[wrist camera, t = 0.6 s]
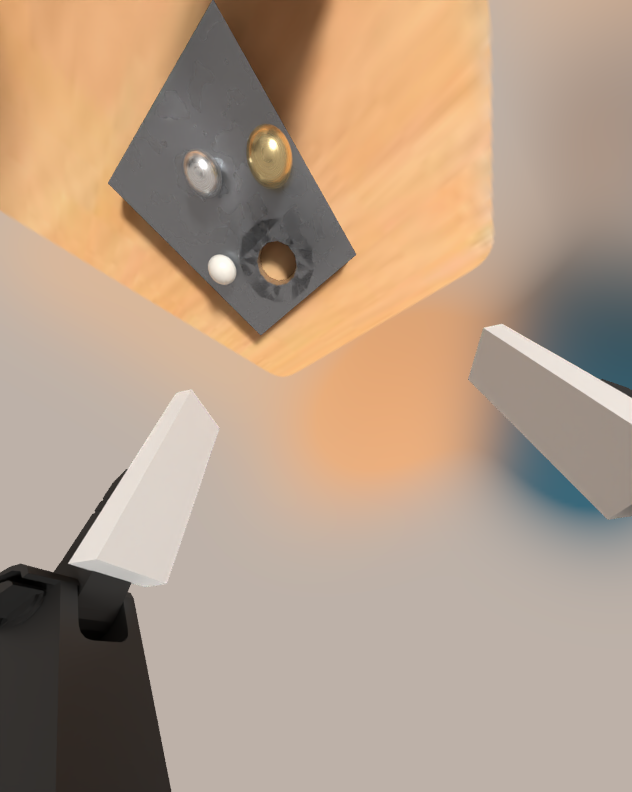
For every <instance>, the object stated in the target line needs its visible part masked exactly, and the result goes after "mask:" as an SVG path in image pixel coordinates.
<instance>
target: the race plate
mask: <svg viewBox="0 0 632 792" xmlns="http://www.w3.org/2000/svg"><path fill="white" fill-rule="evenodd" d="M261 124H271V125H274V126H276V127H277V128H279V129H280V130H281V131H282V132H283V134H284V135H285V137H286V138H287V140H288V142H289V145H290V148H291V152H292V170H291V174H290V176H289V178H288V180H287V182H286V183H285V184H284V185H283V186H281V187H280V188H277V189H268V188H265V187H263V186H262V185H260V184H259V183H258V182H257V181H256V180H255V178H254V177H253V175H252V173H251V171H250V169H249V166H248V163H247V157H246V147H247V141H248V138H249V136H250V134H251V132H252V131H253V130H254V128H256V127H257V126H259V125H261ZM195 148H198V149H202V150H205V151H206V152H208V153H209V154H210V155H211V156H212V157H213V158H214V159H215V160H216V162H217V163H218V165H219V167H220V170H221V174H222V187H221V189H220V191H219V193H218V194H217V195H216V196H214V197H204V196H201V195H199V194H198V193H196V192H195V191H194V190H193V189H192V188H191V186H190V185H189V183H188V182H187V180H186V177H185V174H184V169H183V161H184V158H185V155H186V154H187V152H188V151H190V150H191V149H195ZM108 184H109V185H110V186H111V187H112V188H113V189H114V190H115V191H116V192H117V193H118V194H119V195H120V196H121V197H122V198H123V199H124V200H125V201H126V202H127V203H128V204H129V205H130V206H131V207H132V208H133V209H134V210H135V211H136V212H137V213H138V214H139V215H140V216H141V217H142V218H143V219H144V220H145V221H146V222H147V223H148V224H149V225H150V226H151V227H152V228H153V229H154V230H155V231H156V232H157V233H158V234H159V235H160V236H161V237H162V238H163V239H164V240H165V241H166V242H167V243H168V244H169V245H170V246H171V247H172V248H174V249H175V250H176V251H177V252H178V253H179V254H180V255H181V256H182V257H183V258H184V259H185V260H186V261H187V262H188V263H189V264H190V265H191V266H192V267H193V268H194V269H195V270H196V271H197V272H198V273H199V274H200V275H201V276H202V277H203V278H204V279H205V280H206V281H207V282H208V283H209V284H210V285H211V286H212V287H213V288H214V289H215V290H216V291H217V292H218V293H219V294H220V295H221V296H222V297H223V298H224V299H225V300H226V301H227V302H228V303H229V304H230V305H231V306H232V307H233V308H234V309H235V310H236V311H237V312H238V313H239V314H240V315H241V316H242V317H243V318H244V319H245V320H246V321H247V322H248V323H249V324H250V325H251V326H252V327H253V328H254V329H255V330H256V331H257V332H258V333H259V334H260V335H262V334H263V333H264V332H265V331H267V330H268V329H269V328H270V327H271V326H272V325H274V324H275V323H276V322H277V321H278V320H280V319H281V318H282V317H283V316H284V315H285V314H287V313H288V312H289V311H290V310H291V309H293V308H294V307H295V306H296V305H297V304H298V303H300V302H301V301H302V300H303V299H304V298H306V297H307V296H308V295H309V294H310V293H312V292H313V291H314V290H315V289H316V288H317V287H319V286H320V285H321V284H322V283H323V282H325V281H326V280H327V279H328V278H329V277H330V276H332V275H333V274H334V273H335V272H336V271H338V270H339V269H340V268H341V267H342V266H343V265H345V264H346V263H347V262H348V261H349V260H351V259H352V258H353V257H354V256H355V255H356V253H355V251H354V249H353V248H352V246H351V244H350V242H349V241H348V239H347V237H346V235H345V233H344V232H343V230H342V228H341V226H340V225H339V223H338V221H337V219H336V217H335V216H334V214H333V212H332V210H331V208H330V207H329V205H328V203H327V201H326V200H325V198H324V196H323V194H322V192H321V191H320V189H319V187H318V185H317V184H316V182H315V180H314V178H313V176H312V175H311V173H310V171H309V169H308V167H307V166H306V164H305V162H304V160H303V159H302V157H301V155H300V153H299V151H298V150H297V148H296V146H295V144H294V143H293V141H292V139H291V137H290V135H289V134H288V132H287V130H286V128H285V126H284V125H283V123H282V121H281V119H280V118H279V116H278V114H277V112H276V110H275V109H274V107H273V105H272V103H271V101H270V100H269V98H268V96H267V94H266V93H265V91H264V89H263V87H262V85H261V84H260V82H259V80H258V78H257V77H256V75H255V73H254V71H253V69H252V68H251V66H250V64H249V62H248V60H247V59H246V57H245V55H244V53H243V52H242V50H241V48H240V46H239V44H238V43H237V41H236V39H235V37H234V36H233V34H232V32H231V30H230V28H229V27H228V25H227V23H226V21H225V19H224V18H223V16H222V14H221V12H220V11H219V9H218V7H217V5H216V3H215V2H214V0H212V2H211V3H210V5H209V7H208V9H207V10H206V12H205V14H204V16H203V17H202V19H201V21H200V23H199V24H198V26H197V28H196V30H195V31H194V33H193V35H192V37H191V38H190V40H189V42H188V44H187V45H186V47H185V49H184V51H183V53H182V54H181V56H180V58H179V60H178V61H177V63H176V65H175V67H174V68H173V70H172V72H171V74H170V75H169V77H168V79H167V81H166V82H165V84H164V86H163V88H162V89H161V91H160V93H159V95H158V96H157V98H156V100H155V102H154V103H153V105H152V107H151V109H150V110H149V112H148V114H147V116H146V117H145V119H144V121H143V123H142V124H141V126H140V128H139V130H138V131H137V133H136V135H135V137H134V138H133V140H132V142H131V144H130V145H129V147H128V149H127V151H126V152H125V154H124V156H123V158H122V159H121V161H120V163H119V165H118V166H117V168H116V170H115V172H114V173H113V175H112V177H111V179H110V180H109V182H108ZM274 241H279V242H281V243H283V244H285V245H288V246H289V248H290V249H291V251H292V252H293V253H294V255H295V259H296V268H295V271H294V274H292V275H291V276H290V277H289V278H288V279H286V280H280V281H278V280H275V279H273V278H270V277H269V276H268V275H267V274H266V272H265V271H264V270H263V268H262V264H261V260H260V256H261V252H262V248H263V247H264V246H265V245H266V244H267V243H268V242H274ZM219 254H220V255H225V256H227V257H228V258H230V259H231V260H232V261H233V263H234V265H235V267H236V277H235V279H234V281H233V282H232V283H230V284H227V285H222V284H219V283H217V282H215V281H214V280H213V279H212V278H211V276H210V274H209V272H208V262H209V260H210V259H211V258H212V257H213V256H215V255H219Z"/></svg>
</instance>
